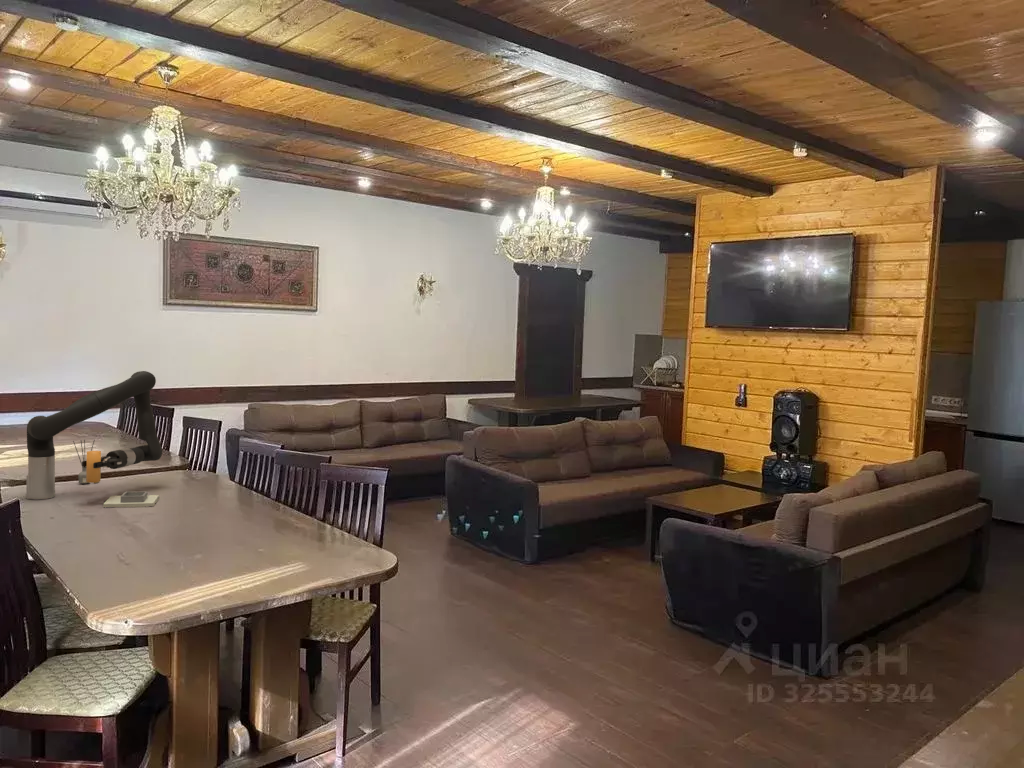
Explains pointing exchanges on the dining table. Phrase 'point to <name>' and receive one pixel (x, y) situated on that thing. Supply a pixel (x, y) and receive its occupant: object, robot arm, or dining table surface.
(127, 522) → the dining table surface
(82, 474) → the reed diffuser
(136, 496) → the cream slab
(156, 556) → the dining table surface
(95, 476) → the orange cylinder
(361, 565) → the dining table surface
